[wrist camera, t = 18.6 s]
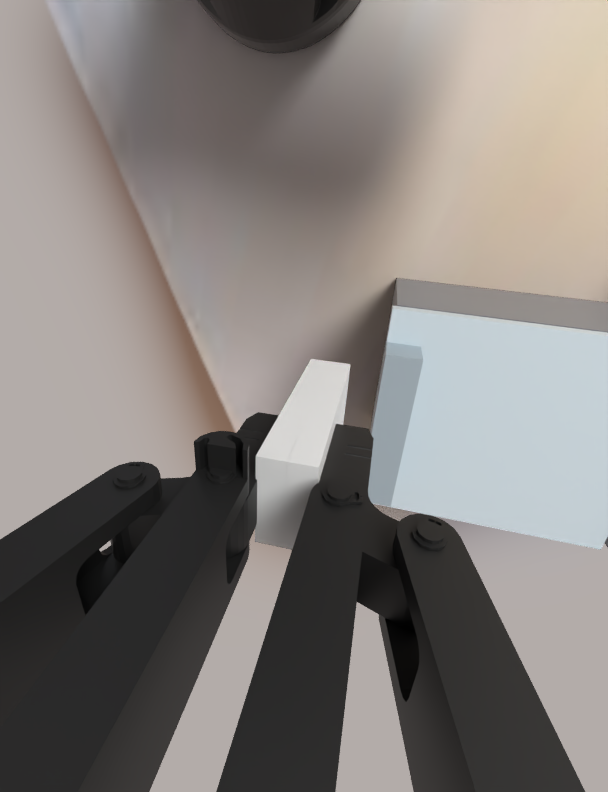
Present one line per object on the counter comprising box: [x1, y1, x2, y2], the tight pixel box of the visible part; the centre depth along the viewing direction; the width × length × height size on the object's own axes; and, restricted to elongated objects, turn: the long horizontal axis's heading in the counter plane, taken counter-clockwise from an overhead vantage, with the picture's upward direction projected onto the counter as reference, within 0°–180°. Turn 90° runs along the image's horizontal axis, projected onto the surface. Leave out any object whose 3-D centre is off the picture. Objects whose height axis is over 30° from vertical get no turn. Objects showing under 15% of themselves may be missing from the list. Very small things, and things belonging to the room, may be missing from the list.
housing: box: [370, 278, 608, 547], centre depth 31 cm, size 14×18×14 cm
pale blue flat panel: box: [368, 306, 608, 549], centre depth 24 cm, size 14×16×4 cm
